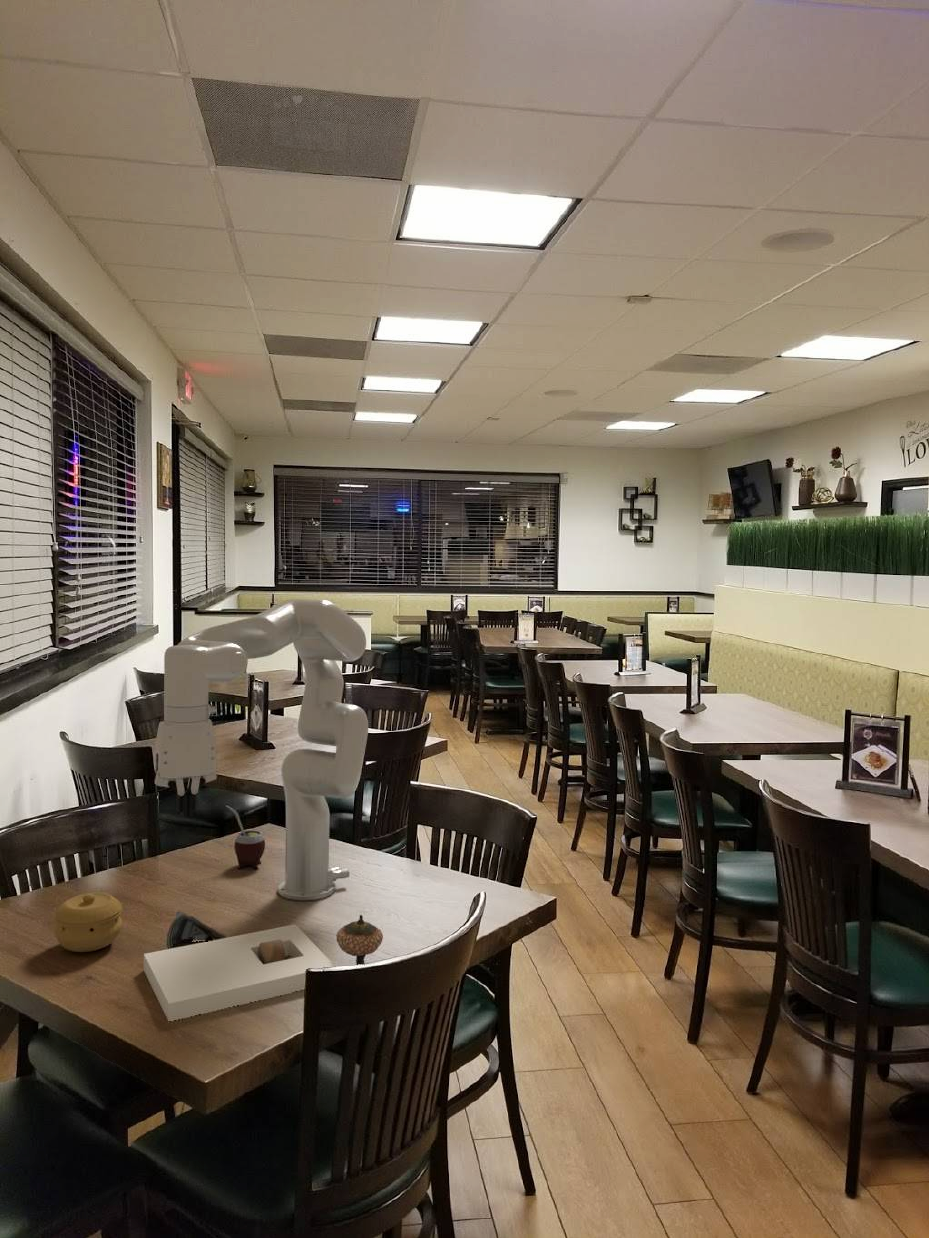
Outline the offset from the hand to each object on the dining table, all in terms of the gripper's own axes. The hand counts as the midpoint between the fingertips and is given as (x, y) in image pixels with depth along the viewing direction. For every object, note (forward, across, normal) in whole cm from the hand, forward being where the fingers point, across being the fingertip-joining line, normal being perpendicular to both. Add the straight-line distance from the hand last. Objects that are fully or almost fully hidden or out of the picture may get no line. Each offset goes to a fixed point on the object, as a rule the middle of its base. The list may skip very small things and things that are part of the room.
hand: (186, 814), depth 159 cm
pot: (+27, +14, -14) cm, 34 cm away
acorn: (+27, -26, +18) cm, 42 cm away
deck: (+27, -6, +11) cm, 30 cm away
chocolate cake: (+27, -5, -5) cm, 28 cm away
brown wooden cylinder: (+24, -11, +11) cm, 29 cm away
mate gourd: (+27, -25, -43) cm, 57 cm away
